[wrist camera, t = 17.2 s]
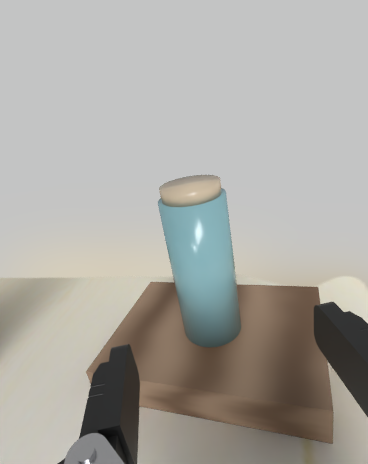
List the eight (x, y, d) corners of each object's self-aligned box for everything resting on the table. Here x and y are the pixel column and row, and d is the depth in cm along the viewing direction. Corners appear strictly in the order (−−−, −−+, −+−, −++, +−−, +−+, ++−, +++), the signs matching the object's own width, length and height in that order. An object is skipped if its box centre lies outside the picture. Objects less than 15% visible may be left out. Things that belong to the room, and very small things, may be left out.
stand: (96, 397, 26) (85, 371, 24) (156, 302, 37) (150, 282, 36) (332, 443, 19) (333, 411, 18) (318, 312, 30) (318, 287, 29)
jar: (175, 341, 26) (142, 195, 21) (196, 305, 30) (173, 175, 25) (232, 352, 24) (210, 192, 19) (247, 312, 28) (232, 171, 23)
